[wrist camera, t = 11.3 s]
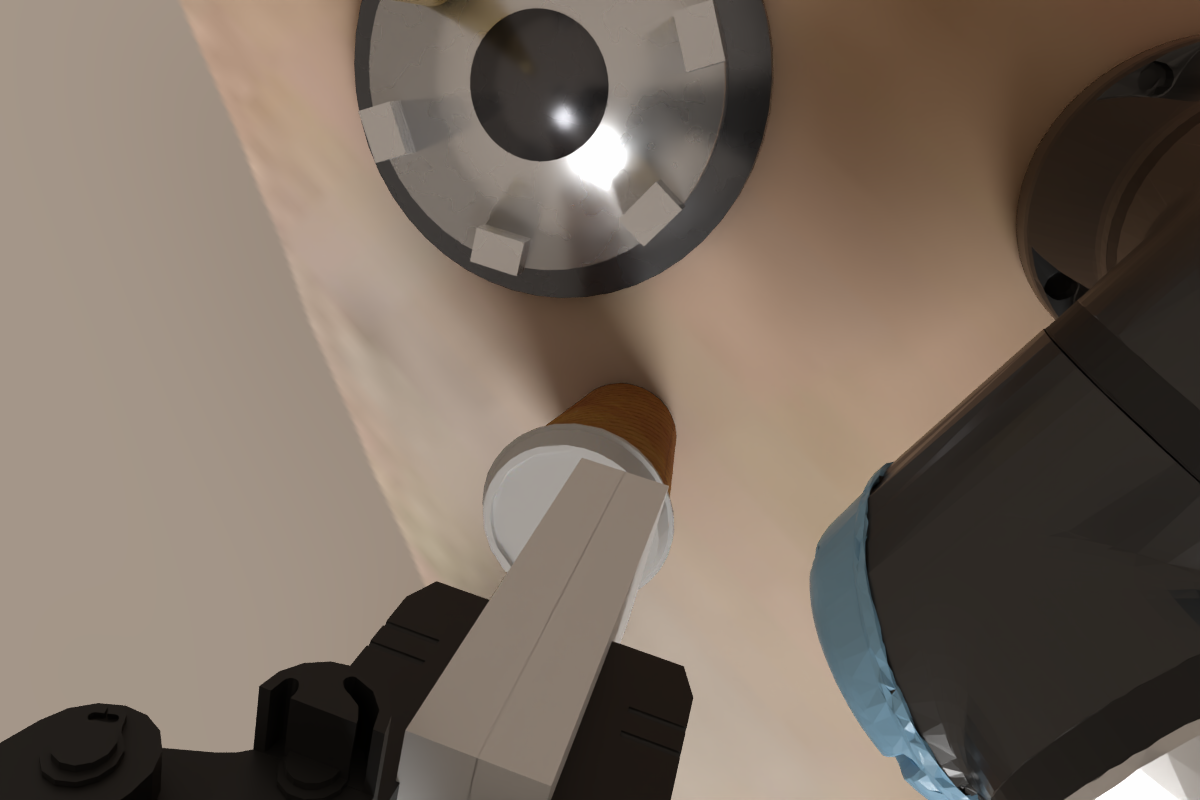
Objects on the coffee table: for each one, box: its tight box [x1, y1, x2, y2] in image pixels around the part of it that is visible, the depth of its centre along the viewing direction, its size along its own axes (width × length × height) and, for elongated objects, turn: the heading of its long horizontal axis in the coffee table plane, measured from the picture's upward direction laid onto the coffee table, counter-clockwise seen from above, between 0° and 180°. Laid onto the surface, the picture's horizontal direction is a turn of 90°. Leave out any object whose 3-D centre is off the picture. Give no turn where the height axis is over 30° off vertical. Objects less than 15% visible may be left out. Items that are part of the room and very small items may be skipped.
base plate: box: [354, 0, 773, 298], centre depth 45 cm, size 22×22×2 cm
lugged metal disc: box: [359, 0, 729, 276], centre depth 39 cm, size 18×18×12 cm
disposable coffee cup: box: [483, 383, 676, 589], centre depth 47 cm, size 10×10×12 cm
